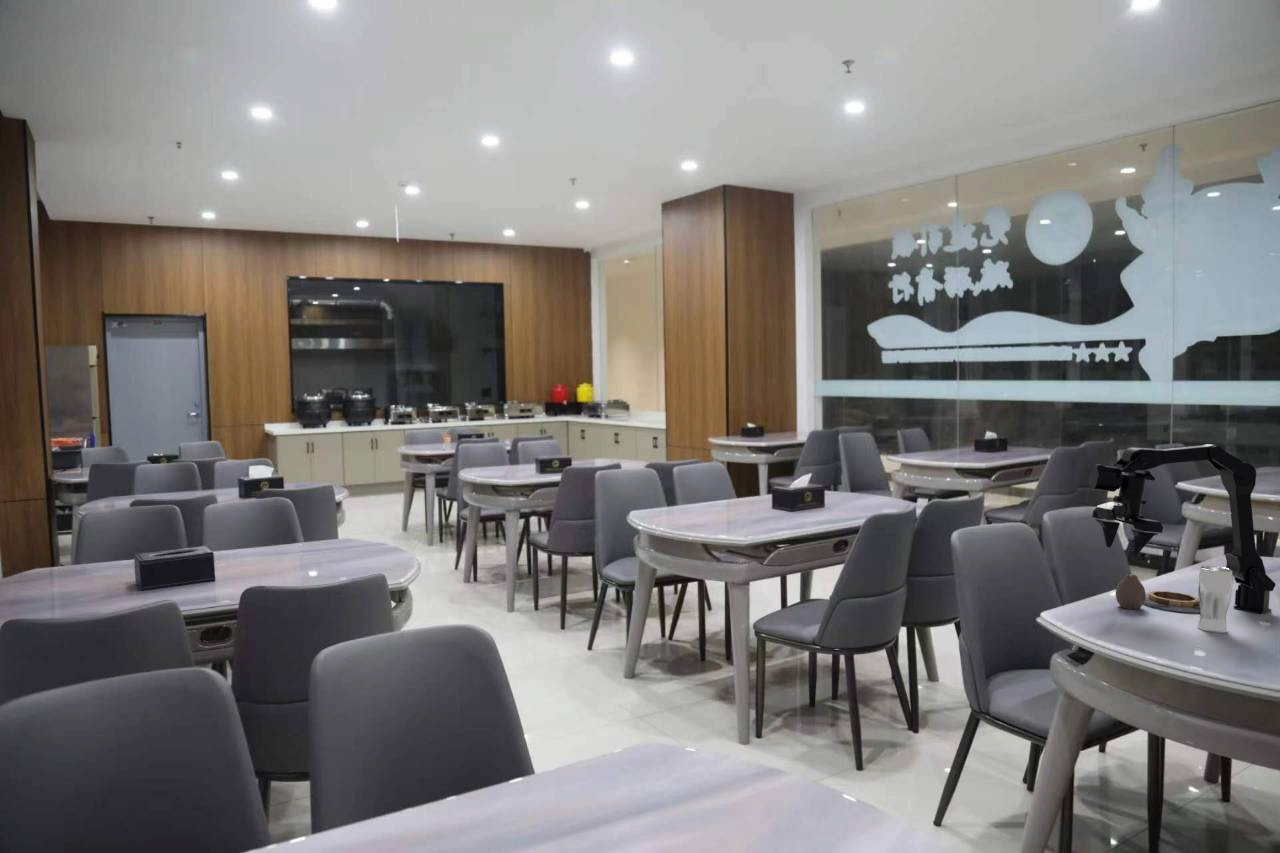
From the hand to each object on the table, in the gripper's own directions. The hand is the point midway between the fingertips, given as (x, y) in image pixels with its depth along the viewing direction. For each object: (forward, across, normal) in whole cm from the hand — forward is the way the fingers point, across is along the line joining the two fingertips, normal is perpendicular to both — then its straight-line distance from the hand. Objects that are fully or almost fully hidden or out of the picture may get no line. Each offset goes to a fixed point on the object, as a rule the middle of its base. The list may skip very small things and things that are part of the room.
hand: (1121, 551), depth 231 cm
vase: (+14, +5, +1) cm, 15 cm away
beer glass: (+13, +26, +5) cm, 29 cm away
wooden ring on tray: (+13, +4, +15) cm, 20 cm away
